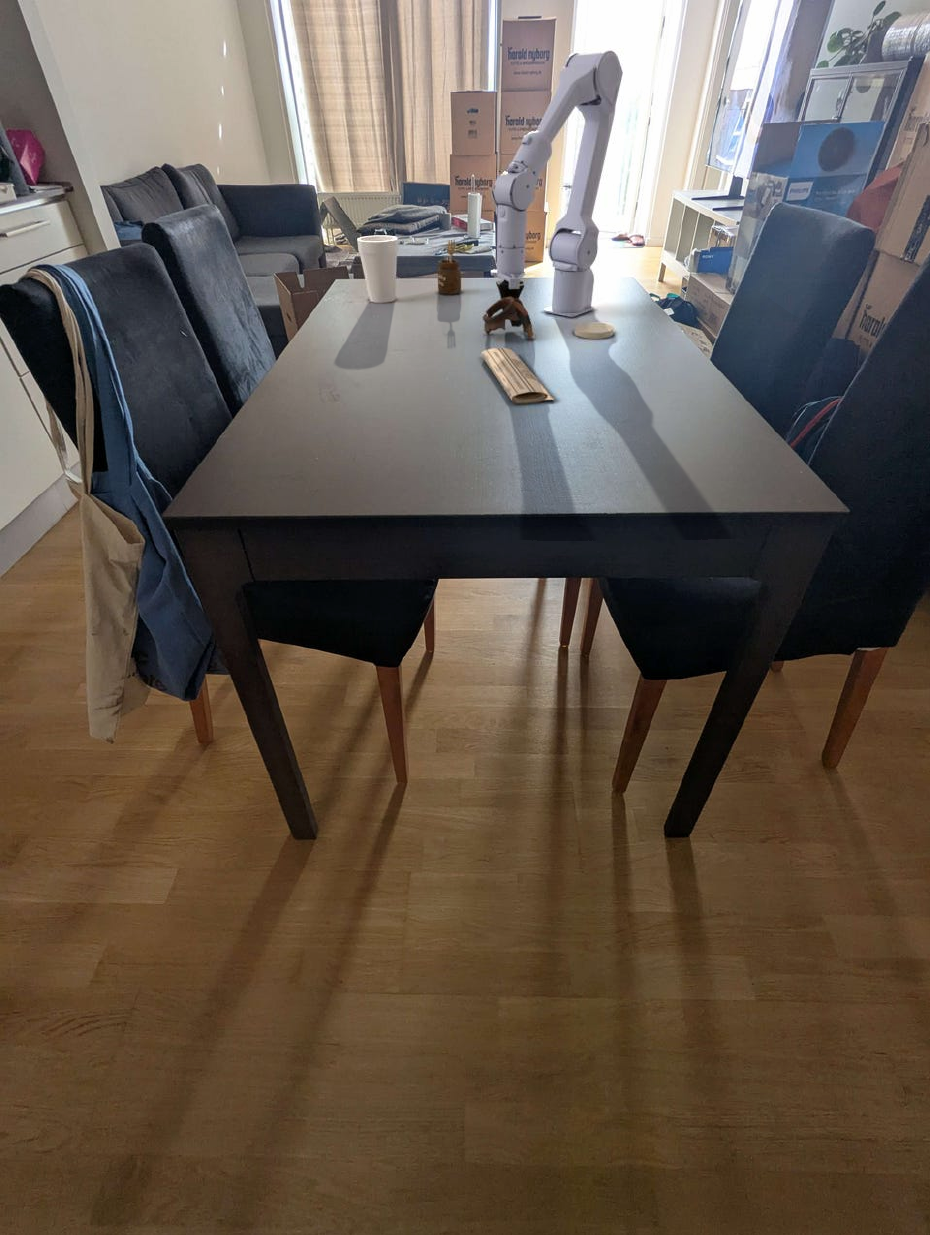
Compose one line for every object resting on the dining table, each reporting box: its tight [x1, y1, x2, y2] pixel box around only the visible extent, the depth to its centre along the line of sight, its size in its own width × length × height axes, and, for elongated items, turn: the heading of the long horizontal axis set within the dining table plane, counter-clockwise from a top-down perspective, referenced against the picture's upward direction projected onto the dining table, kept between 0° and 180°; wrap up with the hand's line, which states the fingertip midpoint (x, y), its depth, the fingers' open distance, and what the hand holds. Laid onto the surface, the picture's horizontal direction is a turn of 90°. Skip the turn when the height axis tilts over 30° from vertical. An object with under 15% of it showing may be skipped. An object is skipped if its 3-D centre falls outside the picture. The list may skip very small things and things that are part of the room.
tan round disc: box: [573, 321, 615, 340], centre depth 127 cm, size 8×8×1 cm
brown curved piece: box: [482, 297, 534, 341], centre depth 126 cm, size 12×10×8 cm
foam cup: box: [357, 234, 399, 304], centre depth 148 cm, size 10×9×13 cm
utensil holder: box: [437, 239, 462, 296], centre depth 153 cm, size 6×6×12 cm
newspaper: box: [481, 347, 555, 404], centre depth 107 cm, size 24×7×2 cm, turn 11°
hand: (508, 318), depth 132 cm, fingers closed
